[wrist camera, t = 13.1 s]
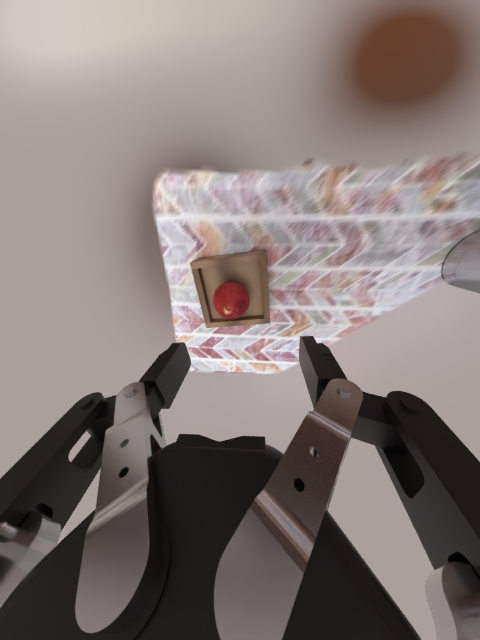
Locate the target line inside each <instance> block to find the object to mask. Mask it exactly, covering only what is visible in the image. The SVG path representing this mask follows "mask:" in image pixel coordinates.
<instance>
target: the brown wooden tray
mask: <svg viewBox="0 0 480 640" xmlns="http://www.w3.org/2000/svg"><path fill="white" fill-rule="evenodd" d="M190 265H191V269H192V273H193V277H194V281H195V285H196V289H197V292H198V296H199V300H200V304H201V308H202V312H203V316H204V320H205V324H206V328H211V327H225V326H238V325H252V324H265V323H270V312H269V293H268V275H267V256H266V251H265V250H258V251H250V252H243V253H235V254H227V255H220V256H212V257H204V258H198V259H196V260H194V261H192V262H190ZM227 282H236V283H238V284H240V285H242V286H243V287H244V288H245V289H246V290H247V291H248V294H249V297H250V303H249V307H248V309H247V311H246V312H245V314H244V315H242V316H241V317H239V318H236V319H226V318H224V317H222V316H220V315H219V314H218V313H217V312H216V310H215V308H214V305H213V295H214V293H215V290H216V289H217V288H218V287H219V286H220V285H221V284H224V283H227Z"/></svg>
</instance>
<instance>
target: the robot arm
mask: <svg viewBox="0 0 480 640" xmlns="http://www.w3.org/2000/svg"><path fill="white" fill-rule="evenodd" d="M442 274H443V278H444V280H445V281H446V282H447V283H448V284H450V285H453V286H456V287H460V288H463V289H467V290H470V291H474V292H477V293H480V231H478V232H476V233H473V234H472V235H470V236H468V237H467V238H465V239H464V240H463V241H461V242H460V243H459V244H458V245H457V246H456V247H455V248H454V249H453V250H452V251H451V252H450V254H449V255H448V256H447V258H446V260H445V262H444V265H443V270H442ZM299 360H300V365H301V368H302V372H303V375H304V378H305V381H306V384H307V388H308V391H309V394H310V398H311V400H312V404H313V407H314V410H313V411H312V412H308V413H307V415H306V417H305V418H304V420H303V422H302V424H301V425H300V427H299V429H298V430H297V432H296V434H295V436H294V437H293V439H292V441H291V443H290V444H289V446H288V448H287V450H286V451H285V453H284V454H283V453H281V452H280V451H279V450H277V449H275V448H273V447H271V446H269V445H266V443H265V437H257V436H241V437H237V438H233V439H229V440H225V441H221V442H218V441H215V440H212V439H210V438H207V437H204V436H201V435H193V434H179V436H178V439H177V441H176V442H174V443H172V444H170V445H167V444H166V440H165V435H164V430H163V425H162V419H161V415H160V413H159V412H160V410H161V409H169V408H170V406H171V404H172V402H173V400H174V398H175V396H176V394H177V392H178V390H179V388H180V386H181V384H182V382H183V380H184V378H185V376H186V374H187V372H188V370H189V368H190V365H191V360H190V356H189V354H188V351H187V348H186V345H185V343H183V342H181V343H172V344H171V346H170V347H169V348H168V350H166V351H164V352H163V353H162V354H160V355H159V356H158V358H157V359H156V361H155V362H154V363H153V364H152V366H150V368H149V369H148V370H147V372H146V373H145V374H144V375H143V377H142V378H141V379H140V381H139V382H135V383H131V384H129V385H127V386H126V387H124V388H123V389H122V390H121V391H120V392H119V393H118V394H117V395H115V396H112V397H108V398H104V397H103V395H102V394H101V393H99V392H97V393H92V394H89V395H87V396H85V397H84V398H82V399H81V400H79V401H78V402H77V403H76V404H75V405H74V406H73V407H72V408H71V409H70V410H69V411H68V412H67V413H66V414H65V415H64V416H63V417H62V418H61V419H60V420H59V421H58V422H57V423H56V424H55V425H54V426H53V427H52V428H51V429H50V430H49V431H48V432H47V433H46V434H45V435H44V436H43V437H42V438H41V439H40V440H39V441H38V442H37V443H36V444H35V445H34V446H33V447H32V448H31V449H30V450H29V451H28V452H27V453H26V454H25V455H24V456H23V457H22V458H21V459H20V460H19V461H18V462H17V463H16V464H15V465H14V466H13V467H12V468H11V469H10V470H9V471H8V472H7V473H6V474H5V475H4V476H3V477H2V478H1V479H0V640H421V638H420V637H419V635H418V634H417V632H416V631H415V629H414V628H413V626H412V625H411V624H410V622H409V621H408V620H407V618H406V617H405V615H404V614H403V613H402V611H401V610H400V608H399V607H398V606H397V604H396V603H395V602H394V601H393V599H392V598H391V596H390V595H389V594H388V592H387V591H386V590H385V588H384V587H383V585H382V584H381V583H380V581H379V580H378V579H377V577H376V576H375V575H374V573H373V572H372V570H371V569H370V568H369V566H368V565H367V564H366V562H365V561H364V560H363V558H362V557H361V555H360V554H359V553H358V551H357V550H356V549H355V547H354V546H353V545H352V543H351V542H350V541H349V539H348V538H347V537H346V535H345V534H344V532H343V531H342V530H341V528H340V527H339V526H338V524H337V523H336V522H335V520H334V519H333V517H332V516H331V515H330V513H329V512H328V511H327V510H328V507H329V504H330V501H331V498H332V495H333V492H334V489H335V486H336V482H337V479H338V476H339V473H340V470H341V467H342V464H343V460H344V458H345V455H346V451H347V448H348V445H349V442H350V439H351V437H352V438H355V439H358V440H360V441H363V442H366V443H370V444H372V445H375V447H376V449H377V451H378V453H379V455H380V457H381V459H382V461H383V463H384V465H385V468H386V469H387V472H388V474H389V476H390V478H391V480H392V482H393V484H394V486H395V488H396V490H397V493H398V494H399V497H400V499H401V501H402V503H403V505H404V507H405V509H406V511H407V513H408V516H409V517H410V520H411V522H412V524H413V526H414V528H415V530H416V532H417V534H418V536H419V538H420V540H421V543H422V545H423V547H424V549H425V551H426V553H427V555H428V557H429V559H430V561H431V564H432V566H433V568H434V571H432V572H431V573H429V575H428V576H427V578H426V583H425V591H426V596H427V601H428V604H429V607H430V610H431V613H432V616H433V619H434V623H435V628H436V635H437V640H480V462H479V461H478V459H477V458H476V457H475V456H474V455H473V454H472V453H471V452H470V451H469V450H468V448H467V447H466V446H465V445H464V444H463V443H462V442H461V440H460V439H459V438H458V437H457V436H456V435H455V434H454V433H453V432H452V430H450V428H449V427H448V426H447V425H446V424H445V423H444V421H443V420H442V419H441V418H440V417H439V416H438V415H437V414H436V413H435V411H434V410H433V409H432V408H431V407H430V406H429V405H428V404H427V403H426V402H424V401H423V400H422V399H420V398H418V397H416V396H415V395H412V394H410V393H407V392H402V391H392V392H390V393H389V394H388V395H387V397H382V396H377V395H373V394H369V393H366V392H363V391H362V390H361V389H360V388H359V387H358V386H357V385H356V384H355V383H353V382H351V381H349V380H347V378H346V376H345V374H344V373H343V371H342V369H341V368H340V366H339V365H338V363H337V361H336V360H335V358H334V356H333V355H332V353H331V351H330V349H329V348H328V347H327V346H325V345H324V344H323V343H316V341H315V339H314V337H313V336H301V337H300V347H299ZM85 431H87V432H88V433H89V434H90V435H91V437H90V438H89V440H88V441H87V442H86V444H85V445H84V446H83V447H82V449H81V450H80V451H79V453H78V454H77V455H76V457H75V458H74V459H73V461H72V462H70V461H69V459H68V455H69V452H70V450H71V449H72V447H73V446H74V445H75V444H76V442H77V441H78V440H79V439H80V437H81V436H82V435H83V434H84V432H85ZM100 468H101V471H100V479H99V487H98V494H97V503H96V509H95V510H94V511H93V512H92V513H91V514H90V515H89V516H88V517H87V518H86V519H84V520H83V521H82V522H81V523H80V524H79V525H78V526H77V527H76V528H75V529H74V530H73V531H72V532H71V533H70V534H68V535H67V536H66V537H65V538H64V539H63V540H62V541H61V542H60V543H59V544H57V542H58V540H59V537H60V533H61V531H62V529H63V528H64V526H65V524H66V523H67V521H68V519H69V518H70V516H71V515H72V513H73V511H74V510H75V508H76V507H77V505H78V503H79V502H80V500H81V499H82V497H83V495H84V494H85V492H86V490H87V489H88V487H89V486H90V484H91V482H92V481H93V479H94V478H95V476H96V474H97V473H98V471H99V469H100Z"/></svg>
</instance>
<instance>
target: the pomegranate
mask: <svg viewBox="0 0 480 640" xmlns="http://www.w3.org/2000/svg"><path fill="white" fill-rule="evenodd" d="M249 303H250V297H249V294H248V291H247V290H246V289H245V288H244V287H243V286H242V285H240V284H238V283H236V282H227V283H224V284H221V285H220V286H219V287H218V288H217V289H216V290H215V293H214V295H213V305H214V308H215V310H216V312H217V313H218V314H219V315H220V316H222V317H224V318H226V319H236V318H239V317H241V316H242V315H244V314H245V312H246V311H247V309H248V307H249Z"/></svg>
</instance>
